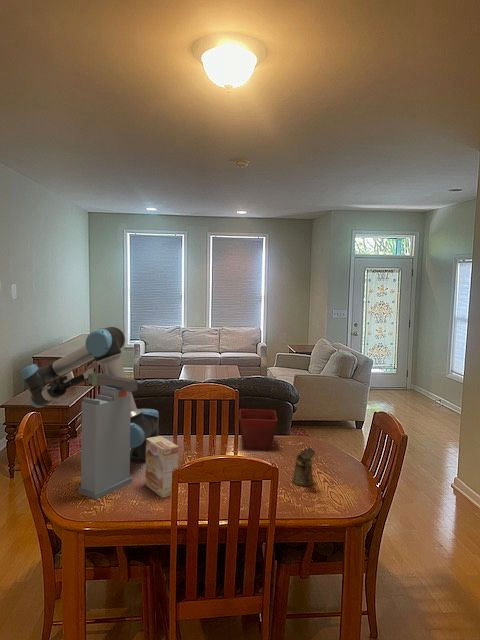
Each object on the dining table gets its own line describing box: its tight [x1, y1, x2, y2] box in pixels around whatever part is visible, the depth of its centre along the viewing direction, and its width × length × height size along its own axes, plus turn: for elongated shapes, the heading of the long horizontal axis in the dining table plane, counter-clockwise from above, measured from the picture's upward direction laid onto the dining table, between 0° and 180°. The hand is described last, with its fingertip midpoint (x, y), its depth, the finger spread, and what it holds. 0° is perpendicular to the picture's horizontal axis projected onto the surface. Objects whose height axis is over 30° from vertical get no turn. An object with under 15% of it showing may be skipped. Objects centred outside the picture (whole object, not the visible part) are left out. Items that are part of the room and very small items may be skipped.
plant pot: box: [238, 408, 278, 451], centre depth 241 cm, size 19×19×17 cm
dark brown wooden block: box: [87, 372, 138, 393], centre depth 189 cm, size 24×4×4 cm, turn 58°
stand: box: [77, 386, 133, 500], centre depth 185 cm, size 10×19×41 cm, turn 148°
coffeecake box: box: [144, 435, 179, 499], centre depth 186 cm, size 15×7×20 cm, turn 37°
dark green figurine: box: [291, 447, 315, 487], centre depth 195 cm, size 9×14×18 cm, turn 3°
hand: (82, 372), depth 196 cm, fingers open, 10 cm apart
